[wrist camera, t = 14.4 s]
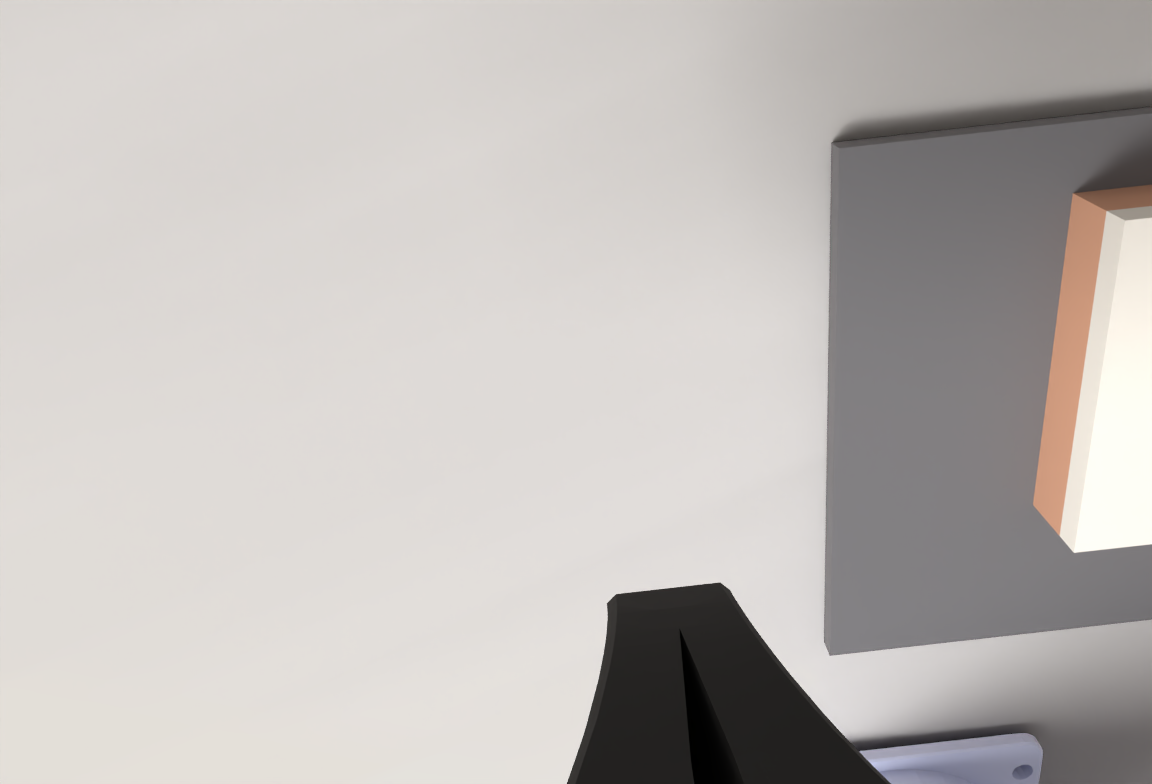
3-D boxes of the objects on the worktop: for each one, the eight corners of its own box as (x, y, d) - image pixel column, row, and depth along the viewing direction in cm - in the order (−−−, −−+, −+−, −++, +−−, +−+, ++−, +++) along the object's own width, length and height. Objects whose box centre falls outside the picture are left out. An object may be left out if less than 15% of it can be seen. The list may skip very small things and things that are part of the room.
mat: (1318, 585, 24) (1333, 598, 23) (823, 641, 24) (830, 655, 23) (1468, 71, 19) (1491, 75, 18) (831, 142, 18) (839, 148, 18)
